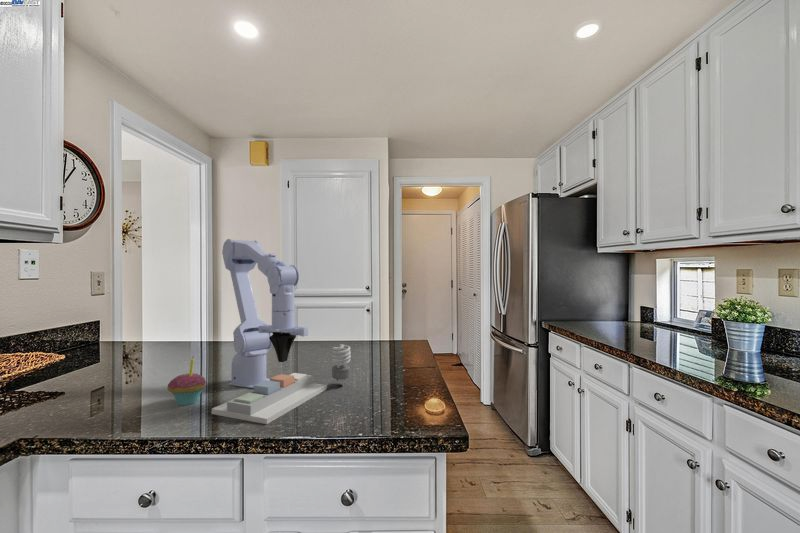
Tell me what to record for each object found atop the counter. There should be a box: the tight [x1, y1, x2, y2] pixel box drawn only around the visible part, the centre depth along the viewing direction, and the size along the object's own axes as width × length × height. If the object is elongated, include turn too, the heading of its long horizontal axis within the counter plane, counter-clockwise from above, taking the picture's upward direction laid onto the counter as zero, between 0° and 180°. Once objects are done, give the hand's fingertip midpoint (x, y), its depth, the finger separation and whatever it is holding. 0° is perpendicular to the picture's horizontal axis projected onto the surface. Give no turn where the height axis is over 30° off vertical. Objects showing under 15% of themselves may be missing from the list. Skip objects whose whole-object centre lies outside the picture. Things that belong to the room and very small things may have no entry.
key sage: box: [234, 392, 264, 404], centre depth 87 cm, size 4×4×2 cm
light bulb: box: [331, 343, 352, 386], centre depth 108 cm, size 6×6×12 cm
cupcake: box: [166, 355, 207, 406], centre depth 93 cm, size 9×8×12 cm
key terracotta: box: [269, 373, 294, 388], centre depth 98 cm, size 4×4×2 cm
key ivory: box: [289, 372, 308, 381], centre depth 103 cm, size 4×4×2 cm
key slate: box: [253, 380, 280, 395], centre depth 92 cm, size 4×4×2 cm
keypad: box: [211, 372, 328, 425], centre depth 95 cm, size 16×25×3 cm, turn 160°
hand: (282, 361), depth 98 cm, fingers closed
